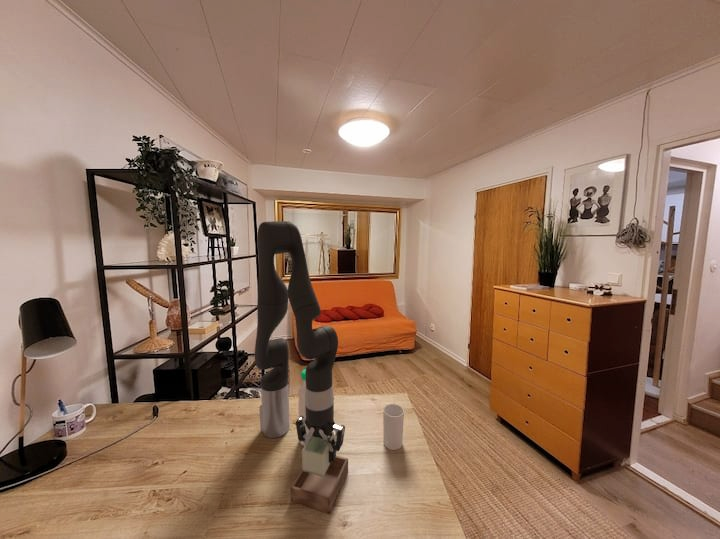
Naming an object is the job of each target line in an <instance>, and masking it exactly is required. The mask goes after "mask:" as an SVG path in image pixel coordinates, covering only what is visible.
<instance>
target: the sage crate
mask: <svg viewBox="0 0 720 539" xmlns="http://www.w3.org/2000/svg"><path fill="white" fill-rule="evenodd" d="M333 433H334V438H335V440H336V439H337V436H336V434H335V431H334V430H333ZM337 452H338V451H336V453H337ZM301 457H302V458H301V460H302V461H301V462H302V464H301V465H302V468H303V471H304V472H308V473H311V474H315V475H318V476H321V477H324V475H325V473H326V471H327V469H328V467H329V465H330V463H329V448H328V446H327V444H325V442H324V440H323V439H321V438H319V437H313V436H312V438H311V439H310V441H308V442H307V444H306V445H305V446H303V448H302V450H301Z"/></svg>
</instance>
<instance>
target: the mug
mask: <svg viewBox="0 0 720 539" xmlns="http://www.w3.org/2000/svg"><path fill="white" fill-rule="evenodd" d="M382 416H383V422H382V423H383V444H384V446H385V448H387V449H389V450H391V451H397V450H399V449H401V447H403V446H402V445H403V439H404V437H403V436H404V419H405V418H404V417H405V410H404V408H403V407H402V406H401V405H400V404H397V403H395V402H392V403H389V404H386V405H385V406H384V407H383V415H382Z"/></svg>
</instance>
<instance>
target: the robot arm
mask: <svg viewBox="0 0 720 539" xmlns="http://www.w3.org/2000/svg"><path fill="white" fill-rule="evenodd" d="M296 224H297V223H295V222H293V221H290V220H289V221H283V220H282V221H281V220H280V221H278V220H277V221H275V220H274V221H262V222H261V223H260V224H259V226H258V228H257V239H256V241H257V257H258V258H257V260H258V285H257V286H258V289H257V302H256V304H257V306H256V307H257V313H256V314H257V316H256V317H257V324H256V326H257V327H256V338H255V345H254V362H255V365H256V368H258V370H260V371H262V370H263V371H264V370H268V369H270V370H269V371H267V372H266V373H265V374H263V375H262V376H261V378H260V394H261V405H260V406H259V408H258V409H259V424H260V426H259V427H260V432H261V433H262V434H263V436H265V437H266V438H269V439H270V438H271V439H276V438H280V437H282V436H284V435H285V434H286V433H288V431H289V430H290V427H291V426H290V393H289V373H290V372H289V368H290V367H289V363H290V361H289V360H290V356H289V355H290V352H289V351H290V350H289V345H288V341H287V340H286V339H285V338H283V337H281V338H275V339H271V336H272V334H273V333H274V332H275V330H276V329H277V328H278V326H279V325H280V324H281V322H282V321H283V320H284V319H285V317H286V315H287V313H288V310H289V303H290V307H291V310H292V313H293V315H294V320H295V330H296V331H295V332H296V343H297V344H296V345H297V349H298V352H299V353H300V355H301V357H303V358H304V359H306V360H312V361H311V362H310V363H308V365H307V364H306V365H307V366H306V367H305V369H306V372H305V375H306V390H305V411H306V418H304V417H303V416H300V417H299V416H298V418H297V419H296V421H295V427H296V434H297V439H298V442H300V441H303V442H304V444H305V445H306V444H307V442H308V441H310V439H311V438H312V436H313V437H319V438H321V439H323V440H324V442H325V444H327V446H328V448H329V463H332V462H333V461H334V459H335V457H336V456H337V452H339V451H340V449H341V448H342V446H343V443H344V439H345V438H344V437H345V430H346V427H345V425H344V424H341V425H340V426H339V425H337V424H336V423H335V421H334V420H335V419H334V418H335V417H334V416H335V412H334V411H335V410H334V408H335V407H334V405H335V402H334V400H335V397H334V387H333V368H334V365H335V361H336V356H337V353H338V348H339V338H338V334H337V332H336V330H335V329H334V328H333V327H332V326H330V325H322V326H319V327H316V328H313V321H314V320H316V319H318V318H319V317H320V316H321V315H322V311H321V306H320V304H319V301H318V299H317V296H316V293H315V291H314V288H313V285H312V281H311V277H310V274H309V273H310V272H309V267H308V262H307V258H306V253H305V250H304V249H305V248H304V244H303V239H302V235H301V232H300V230H299V228H298V226H297V225H296ZM279 254H289V257H290V259H291V264H292V265H291V273H290V276H289V277H290V278H289V282H288V287H287V285H286V284H285V282H284V280H282V278H281V277H280V275H279V273H278V272H277V269H276V266H275V256H276V255H279ZM305 424H306V426H307V428H308V429H309V433H308V435H307V434H306V428H305ZM333 431H335V434H336V436H337V439H336V440H335V438H334V433H333ZM336 451H337V452H336Z"/></svg>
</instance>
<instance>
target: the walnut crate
mask: <svg viewBox="0 0 720 539" xmlns="http://www.w3.org/2000/svg"><path fill="white" fill-rule="evenodd" d="M348 473H349V458H347V457H343V456H339V455H336V457H335V459H334V461H333V462H332V463H330V465H329V467H328V469H327V471H326V473H325V475H324V477H321V476H318V475H315V474H311V473H308V472H304V471H303V467H302V469H300V471H299V472H298V475H297V476H296V478H295V480H294V481H293V482H292V484H291V486H290V501H291V502H293V503H296V504H298V505H301V506H305V507H307V508H309V509H313V510H316V511H319V512H321V513H324V514H328V515H331V513H332V511H333V508H334V505H336V504H335V503H336V501H337V499H338V496H339V494H340V491H341V489H342V487H343V485H344V483H345V479H346V477H347V475H348Z"/></svg>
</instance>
